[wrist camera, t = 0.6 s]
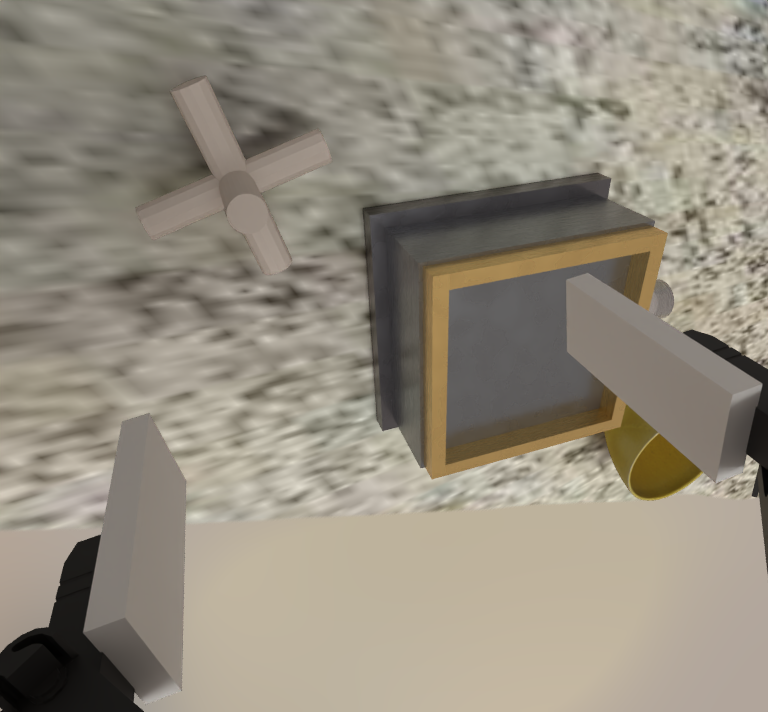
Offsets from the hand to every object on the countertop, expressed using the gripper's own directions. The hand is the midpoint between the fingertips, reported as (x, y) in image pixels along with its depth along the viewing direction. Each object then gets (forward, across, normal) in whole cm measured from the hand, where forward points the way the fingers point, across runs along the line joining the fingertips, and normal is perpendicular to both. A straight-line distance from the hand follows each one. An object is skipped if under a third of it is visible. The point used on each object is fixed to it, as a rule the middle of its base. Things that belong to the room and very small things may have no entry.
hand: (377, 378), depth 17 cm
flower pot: (+24, +27, -30) cm, 47 cm away
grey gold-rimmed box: (+22, +14, -12) cm, 29 cm away
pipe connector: (+22, -3, +3) cm, 22 cm away
